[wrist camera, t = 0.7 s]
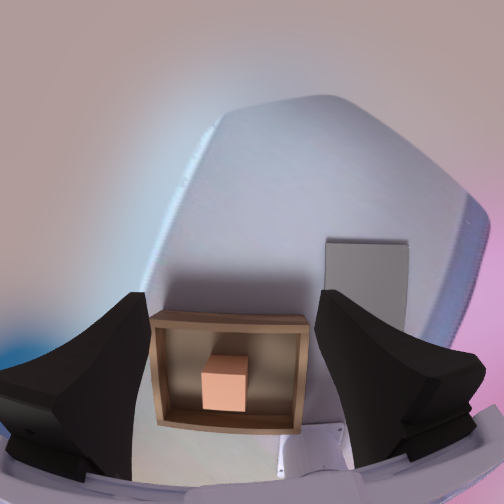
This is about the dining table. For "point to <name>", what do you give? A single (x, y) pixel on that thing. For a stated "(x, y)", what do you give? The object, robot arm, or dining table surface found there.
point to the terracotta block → (225, 383)
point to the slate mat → (370, 277)
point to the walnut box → (231, 344)
